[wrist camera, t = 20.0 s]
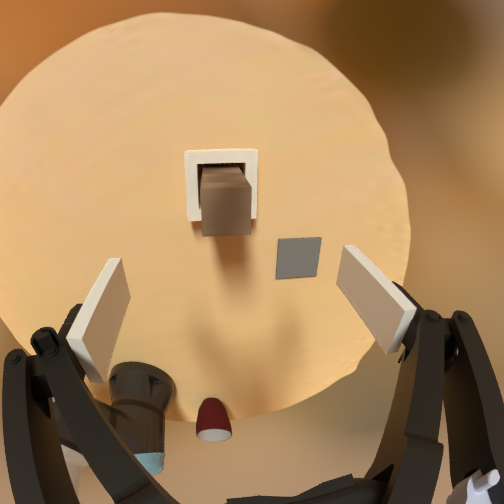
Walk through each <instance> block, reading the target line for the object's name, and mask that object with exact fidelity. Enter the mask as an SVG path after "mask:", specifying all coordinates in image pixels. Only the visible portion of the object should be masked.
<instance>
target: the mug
mask: <svg viewBox="0 0 504 504" xmlns="http://www.w3.org/2000/svg"><path fill="white" fill-rule="evenodd" d="M196 435H197V437H198V438H199V439H201V440H203V441H208V442H219V441H224V440H227V439H229V438H230V437H231V436H232V430H231V424H230V421H229V418H228V415H227V412H226V409H225V407H224V406H223V404H222V403H221V402H220V401H219V400H218V399H216V398H207V399H205V400H204V401H203V403H202V404H201V406H200V408H199V411H198V417H197V423H196Z"/></svg>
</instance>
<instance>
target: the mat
mask: <svg viewBox="0 0 504 504" xmlns="http://www.w3.org/2000/svg"><path fill="white" fill-rule="evenodd" d="M321 239H322V238H321V237H315V238H289V239H278V252H277V266H276V279H284V278H297V277H309V276H316V274H317V267H318V260H319V254H320V247H321Z"/></svg>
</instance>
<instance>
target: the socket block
mask: <svg viewBox="0 0 504 504" xmlns="http://www.w3.org/2000/svg"><path fill="white" fill-rule="evenodd" d="M184 155H185V180H186V199H187V215H188V221H202V219H201V203H199V179H198V164H207V163H243V174H244V176H245V178H246V179H247V181H248V182H249V184H250V185H251V187H252V203H251V219H256V208H257V168H258V151H257V150H256V149H205V150H186V152H185V153H184Z"/></svg>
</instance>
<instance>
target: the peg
mask: <svg viewBox="0 0 504 504" xmlns="http://www.w3.org/2000/svg"><path fill="white" fill-rule="evenodd" d="M200 198H201V219H202V236H203V237H204V236H225V235H247V234H251V203H252V187H251V185H250V184H249V182H248V181H247V179H246V178H245V176H244V174H243V173H242V171H241V170H240V168H239V167H238V165H206V166H203V172H202V179H201V186H200Z"/></svg>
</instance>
